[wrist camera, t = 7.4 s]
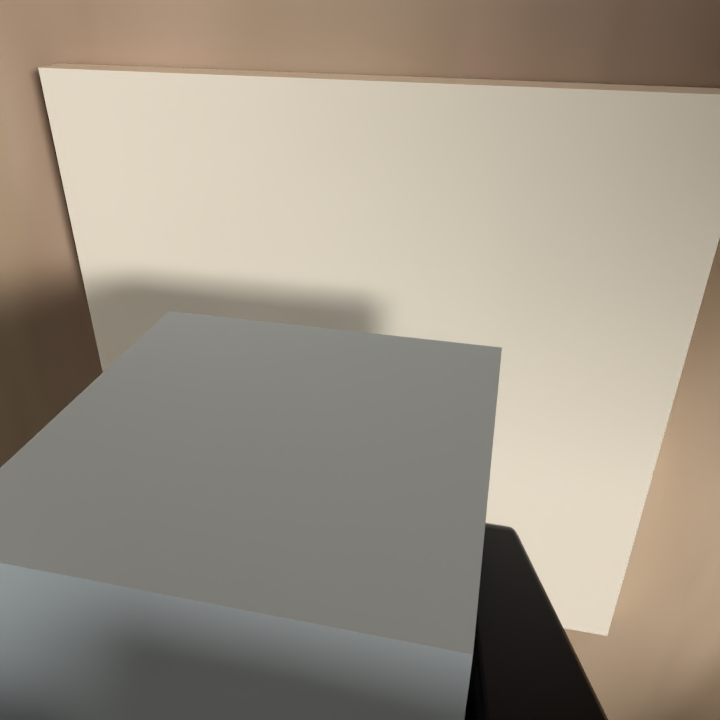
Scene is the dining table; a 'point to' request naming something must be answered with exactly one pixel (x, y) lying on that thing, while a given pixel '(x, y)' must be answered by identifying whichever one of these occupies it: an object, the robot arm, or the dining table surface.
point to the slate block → (251, 530)
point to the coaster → (425, 252)
